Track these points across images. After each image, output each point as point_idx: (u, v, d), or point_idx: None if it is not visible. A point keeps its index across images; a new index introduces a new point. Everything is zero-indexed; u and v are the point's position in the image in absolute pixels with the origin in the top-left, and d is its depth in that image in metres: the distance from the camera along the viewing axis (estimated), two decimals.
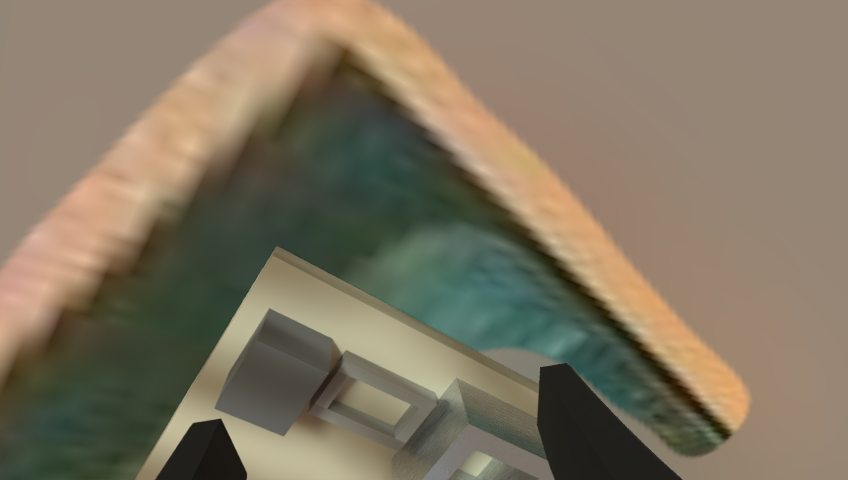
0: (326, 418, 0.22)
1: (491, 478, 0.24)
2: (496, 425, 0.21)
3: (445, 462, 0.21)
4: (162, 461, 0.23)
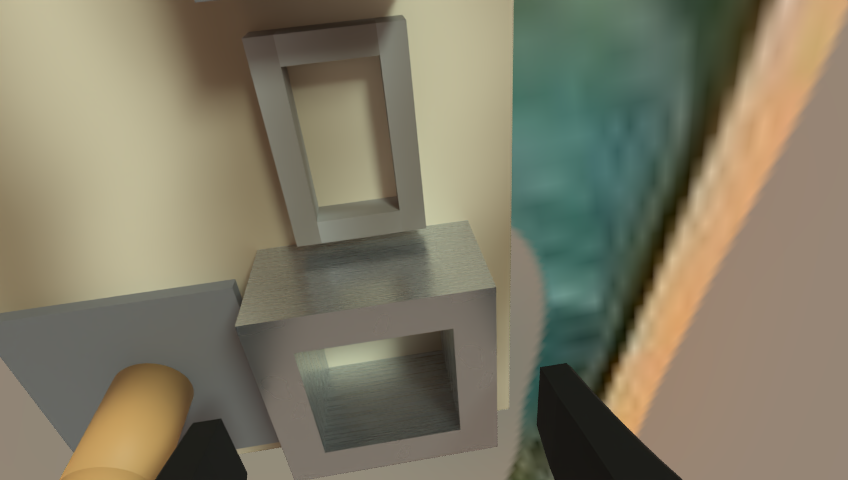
0: (259, 82, 0.10)
1: (359, 384, 0.15)
2: None
3: (398, 315, 0.11)
4: None
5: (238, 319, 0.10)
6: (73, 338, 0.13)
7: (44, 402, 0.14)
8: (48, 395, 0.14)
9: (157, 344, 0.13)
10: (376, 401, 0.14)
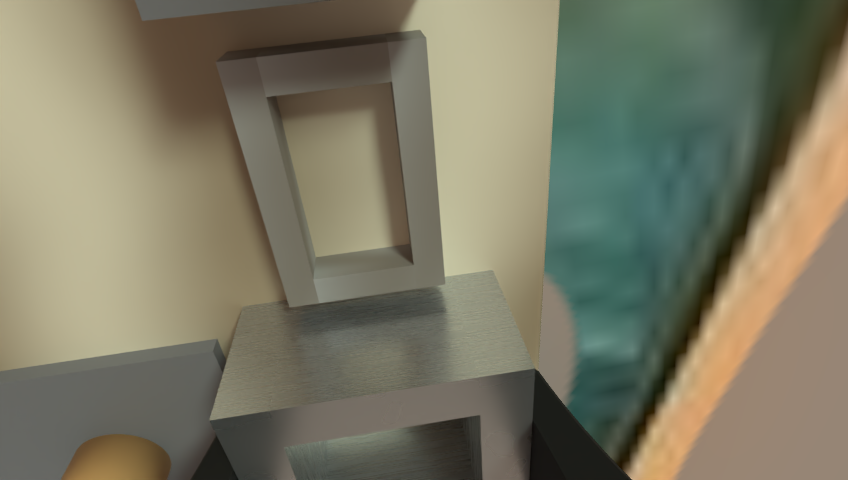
0: (239, 116, 0.08)
1: (363, 454, 0.13)
2: None
3: (413, 402, 0.09)
4: None
5: (214, 409, 0.08)
6: (25, 409, 0.11)
7: None
8: (0, 471, 0.12)
9: (126, 414, 0.11)
10: (382, 479, 0.12)
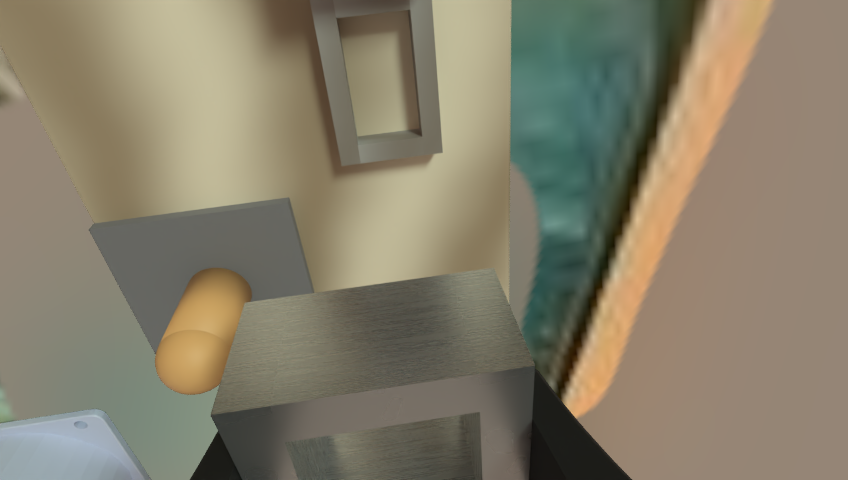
0: (319, 30, 0.13)
1: (364, 451, 0.13)
2: None
3: (413, 398, 0.09)
4: None
5: (215, 404, 0.08)
6: (162, 243, 0.16)
7: (133, 300, 0.17)
8: (137, 294, 0.17)
9: (226, 251, 0.17)
10: (383, 475, 0.12)
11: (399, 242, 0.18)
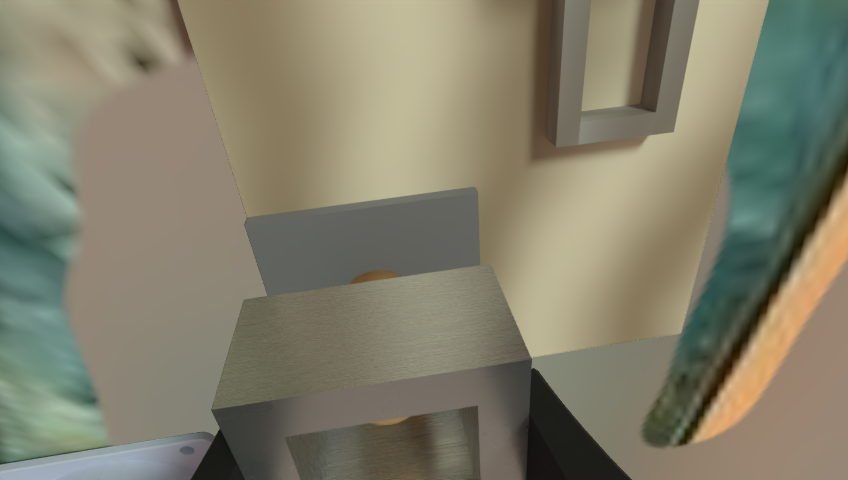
0: None
1: (363, 447, 0.13)
2: None
3: (412, 392, 0.09)
4: None
5: (216, 399, 0.08)
6: (324, 241, 0.14)
7: None
8: None
9: (396, 250, 0.14)
10: (382, 470, 0.12)
11: (585, 240, 0.15)
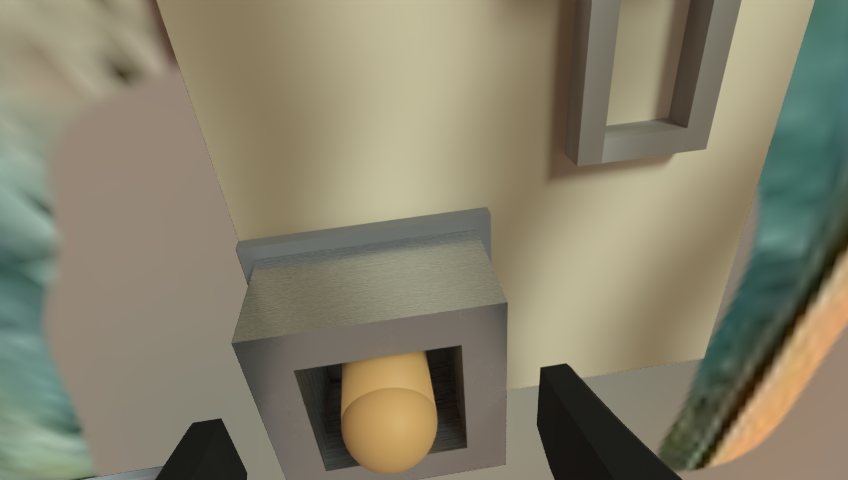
0: None
1: None
2: None
3: (404, 330, 0.10)
4: None
5: (235, 335, 0.10)
6: None
7: None
8: None
9: None
10: None
11: (604, 263, 0.14)
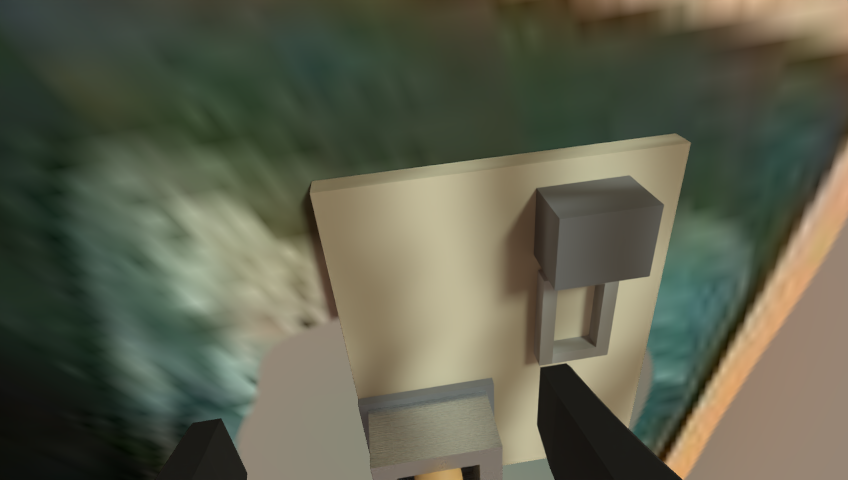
0: (545, 297, 0.20)
1: None
2: None
3: (452, 460, 0.21)
4: (373, 200, 0.18)
5: (371, 463, 0.20)
6: None
7: None
8: None
9: None
10: None
11: None
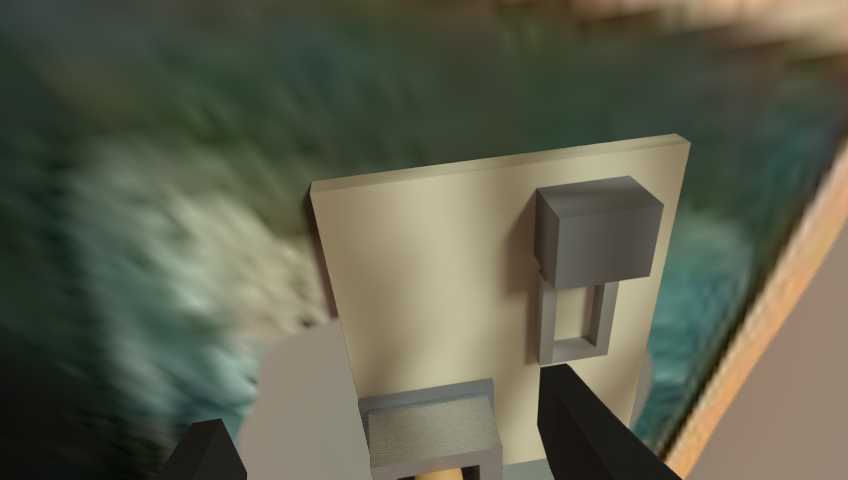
0: (545, 297, 0.20)
1: None
2: None
3: (452, 460, 0.21)
4: (373, 200, 0.18)
5: (371, 463, 0.20)
6: None
7: None
8: None
9: None
10: None
11: None
